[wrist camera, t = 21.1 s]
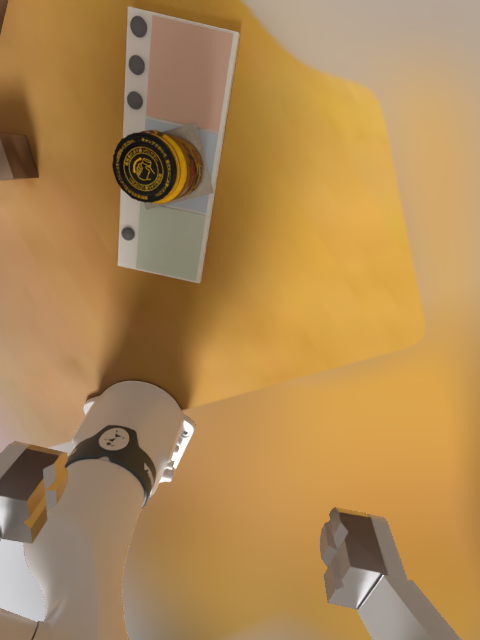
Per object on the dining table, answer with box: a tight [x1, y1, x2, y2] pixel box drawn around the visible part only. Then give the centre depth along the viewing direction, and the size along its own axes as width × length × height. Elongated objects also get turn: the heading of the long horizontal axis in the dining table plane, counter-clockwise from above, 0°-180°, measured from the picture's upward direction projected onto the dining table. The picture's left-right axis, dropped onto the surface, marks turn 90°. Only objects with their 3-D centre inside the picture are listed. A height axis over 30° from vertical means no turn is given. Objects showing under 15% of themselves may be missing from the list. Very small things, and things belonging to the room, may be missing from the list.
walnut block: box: [0, 132, 39, 180], centre depth 37 cm, size 4×4×4 cm
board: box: [118, 6, 240, 284], centre depth 38 cm, size 26×11×2 cm, turn 169°
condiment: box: [113, 122, 213, 210], centre depth 32 cm, size 7×8×12 cm
